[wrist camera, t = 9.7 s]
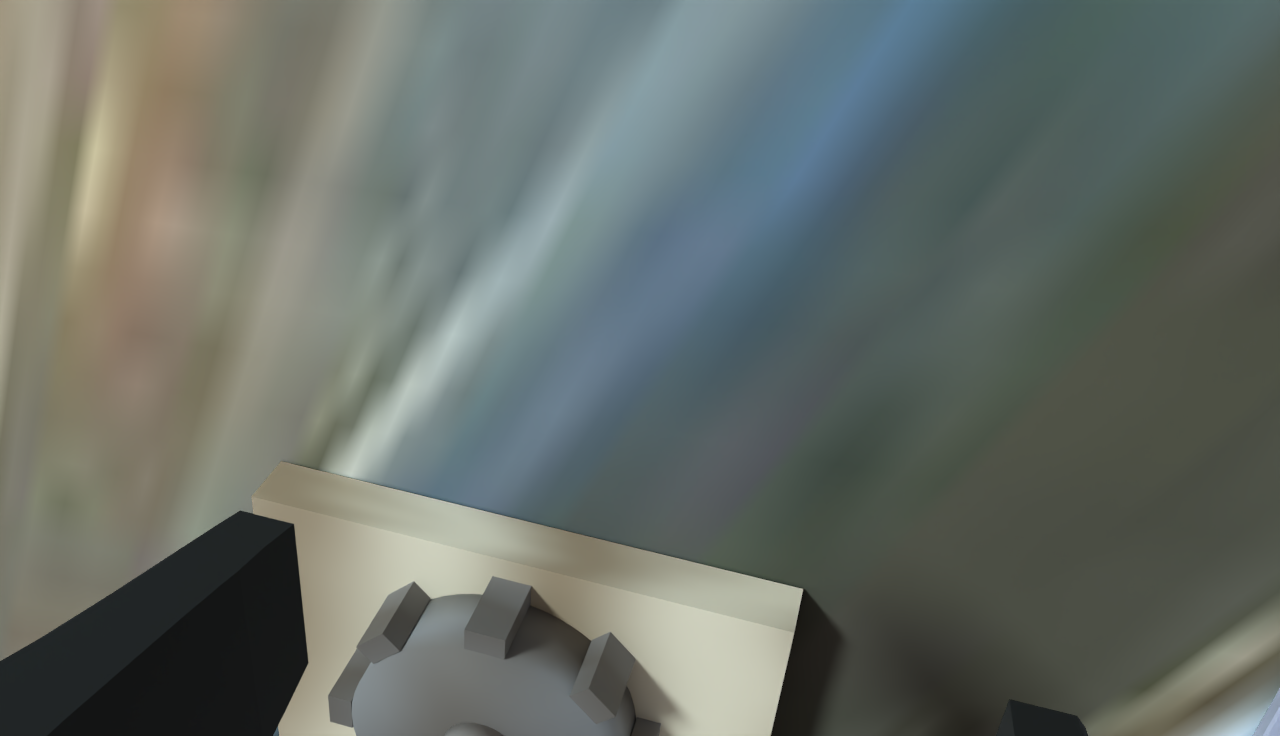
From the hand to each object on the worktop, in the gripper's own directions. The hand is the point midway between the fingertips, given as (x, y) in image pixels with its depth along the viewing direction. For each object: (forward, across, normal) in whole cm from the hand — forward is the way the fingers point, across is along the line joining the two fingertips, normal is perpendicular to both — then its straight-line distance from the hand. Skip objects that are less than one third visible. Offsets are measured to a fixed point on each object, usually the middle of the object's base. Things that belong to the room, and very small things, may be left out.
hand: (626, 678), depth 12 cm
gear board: (+9, +4, +18) cm, 20 cm away
